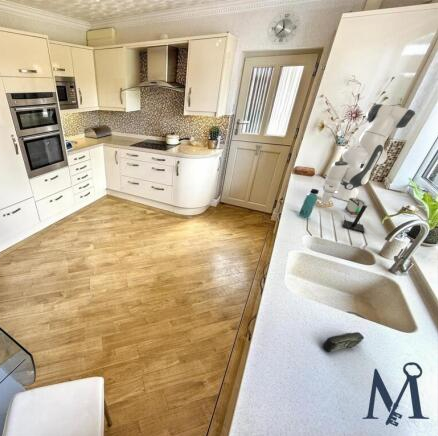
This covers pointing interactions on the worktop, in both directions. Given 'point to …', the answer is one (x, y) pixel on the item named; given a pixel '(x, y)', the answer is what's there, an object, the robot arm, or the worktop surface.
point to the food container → (354, 206)
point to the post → (355, 222)
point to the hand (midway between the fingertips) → (321, 203)
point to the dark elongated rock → (342, 341)
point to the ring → (324, 203)
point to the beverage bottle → (309, 203)
